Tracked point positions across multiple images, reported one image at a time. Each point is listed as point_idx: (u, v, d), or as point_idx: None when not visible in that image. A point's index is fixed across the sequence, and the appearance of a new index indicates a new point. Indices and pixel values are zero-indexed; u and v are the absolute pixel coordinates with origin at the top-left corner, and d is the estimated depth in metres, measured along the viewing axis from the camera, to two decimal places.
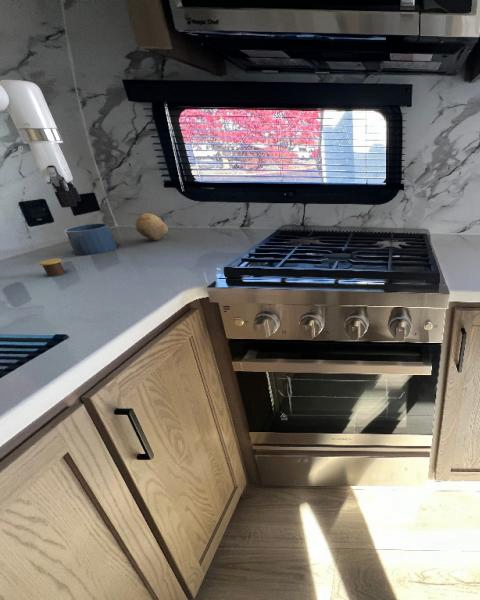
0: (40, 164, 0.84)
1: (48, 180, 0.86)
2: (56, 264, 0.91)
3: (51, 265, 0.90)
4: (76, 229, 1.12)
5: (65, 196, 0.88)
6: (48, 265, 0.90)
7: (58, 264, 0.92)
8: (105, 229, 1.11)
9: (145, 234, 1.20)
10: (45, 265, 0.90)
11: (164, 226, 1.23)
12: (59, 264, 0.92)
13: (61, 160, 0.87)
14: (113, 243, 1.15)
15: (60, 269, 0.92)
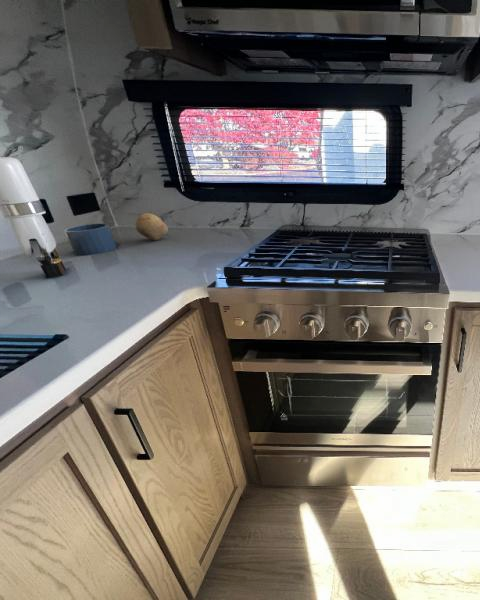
0: (21, 238, 0.83)
1: (29, 253, 0.85)
2: None
3: None
4: (76, 229, 1.12)
5: (51, 268, 0.89)
6: None
7: (58, 264, 0.92)
8: (105, 229, 1.11)
9: (145, 234, 1.20)
10: None
11: (164, 226, 1.23)
12: (59, 264, 0.92)
13: (43, 232, 0.86)
14: (113, 243, 1.15)
15: (60, 269, 0.92)
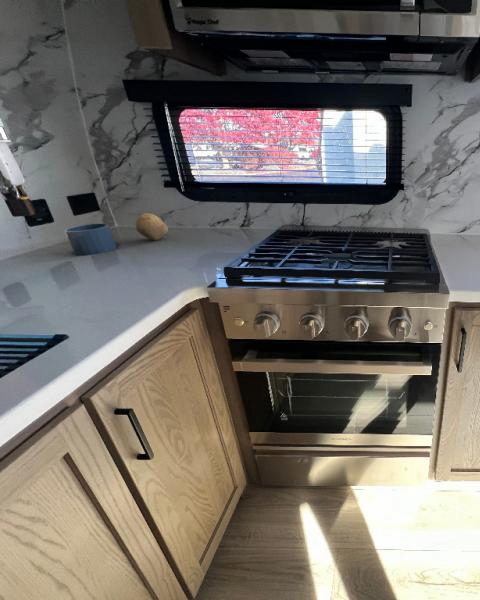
0: None
1: None
2: None
3: None
4: (76, 229, 1.12)
5: (16, 204, 0.82)
6: None
7: (25, 201, 0.84)
8: (105, 229, 1.11)
9: (145, 234, 1.20)
10: None
11: (164, 226, 1.23)
12: (27, 201, 0.85)
13: (7, 161, 0.79)
14: (113, 243, 1.15)
15: (28, 207, 0.85)
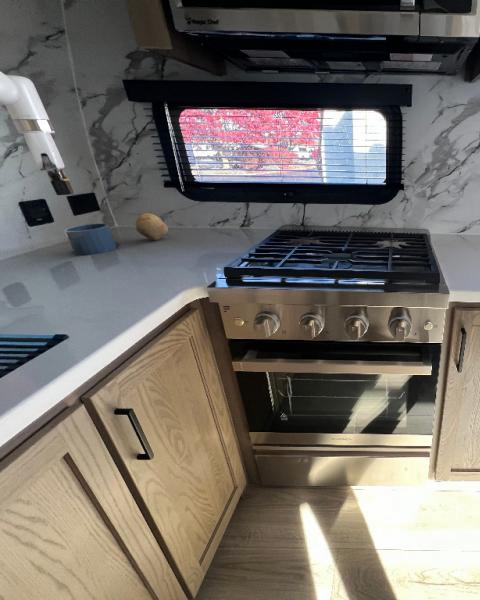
0: (33, 152, 0.93)
1: (41, 167, 0.95)
2: None
3: None
4: (76, 229, 1.12)
5: (60, 185, 0.99)
6: None
7: (66, 182, 1.01)
8: (105, 229, 1.11)
9: (145, 234, 1.20)
10: None
11: (164, 226, 1.23)
12: (67, 183, 1.02)
13: (53, 148, 0.96)
14: (113, 243, 1.15)
15: (68, 187, 1.02)
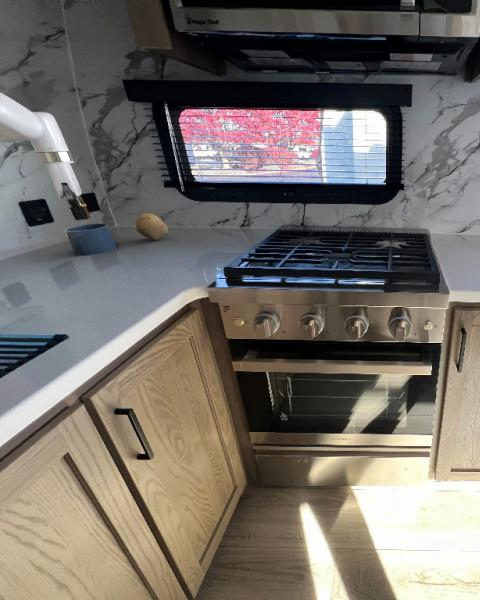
0: (55, 182, 0.99)
1: (61, 195, 1.01)
2: None
3: None
4: (76, 229, 1.12)
5: (78, 210, 1.06)
6: None
7: (84, 208, 1.08)
8: (105, 229, 1.11)
9: (145, 234, 1.20)
10: None
11: (164, 226, 1.23)
12: (85, 208, 1.08)
13: (72, 178, 1.02)
14: (113, 243, 1.15)
15: (86, 212, 1.09)
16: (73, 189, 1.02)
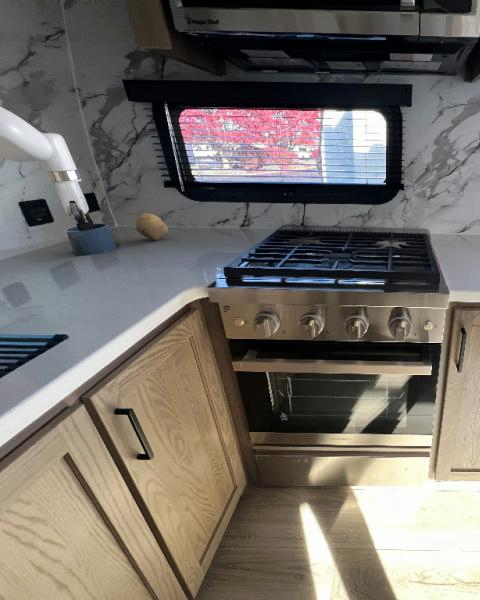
0: (63, 200, 1.02)
1: (69, 213, 1.03)
2: None
3: None
4: (76, 229, 1.12)
5: (85, 227, 1.07)
6: None
7: None
8: (105, 229, 1.11)
9: (145, 234, 1.20)
10: None
11: (164, 226, 1.23)
12: None
13: (80, 195, 1.05)
14: (113, 243, 1.15)
15: None
16: (81, 207, 1.05)
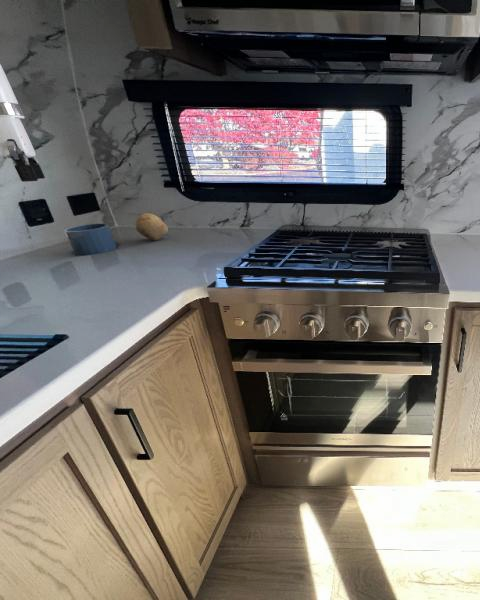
0: None
1: (8, 153, 0.88)
2: None
3: None
4: (76, 229, 1.12)
5: (25, 170, 0.90)
6: None
7: None
8: (105, 229, 1.11)
9: (145, 234, 1.20)
10: None
11: (164, 226, 1.23)
12: None
13: (21, 134, 0.89)
14: (113, 243, 1.15)
15: None
16: (22, 147, 0.89)
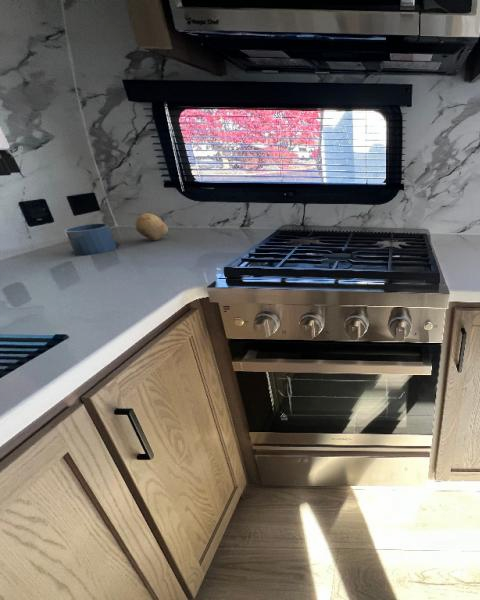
0: None
1: None
2: None
3: None
4: (76, 229, 1.12)
5: None
6: None
7: None
8: (105, 229, 1.11)
9: (145, 234, 1.20)
10: None
11: (164, 226, 1.23)
12: None
13: None
14: (113, 243, 1.15)
15: None
16: None
